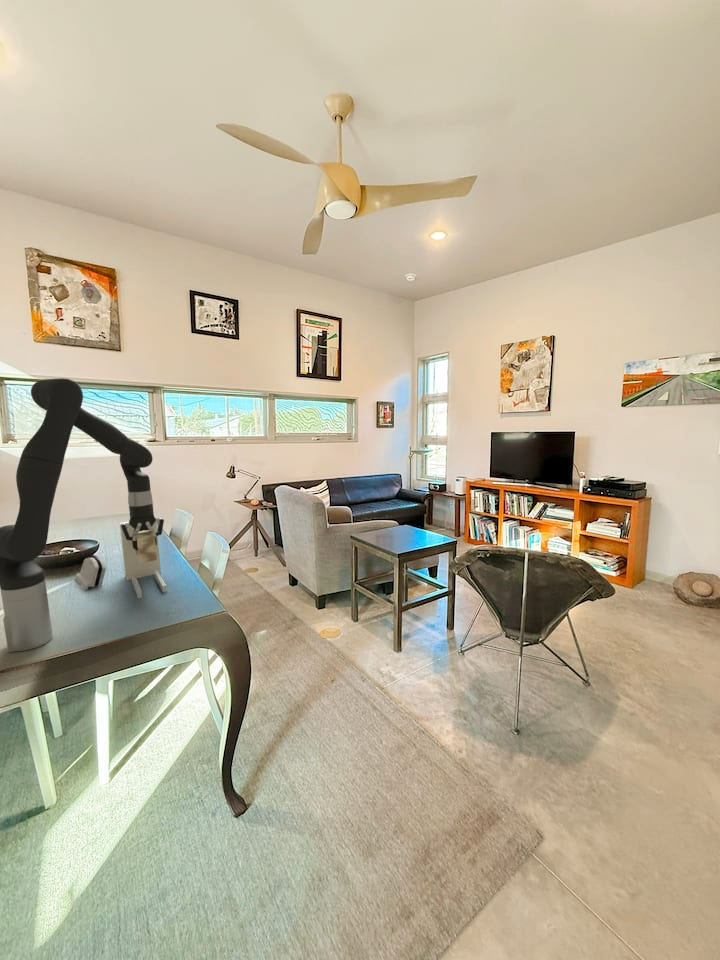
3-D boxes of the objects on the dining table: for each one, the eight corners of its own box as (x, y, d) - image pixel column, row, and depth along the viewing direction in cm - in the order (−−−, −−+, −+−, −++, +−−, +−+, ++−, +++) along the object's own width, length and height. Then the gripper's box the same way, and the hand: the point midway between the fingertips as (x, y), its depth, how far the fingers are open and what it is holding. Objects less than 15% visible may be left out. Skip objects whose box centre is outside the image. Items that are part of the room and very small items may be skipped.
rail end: (141, 563, 135) (138, 538, 133) (135, 552, 146) (133, 529, 145) (156, 559, 138) (154, 535, 136) (150, 549, 149) (148, 526, 148)
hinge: (74, 578, 152) (82, 553, 153) (88, 579, 155) (95, 554, 156) (85, 590, 141) (93, 563, 142) (100, 590, 144) (108, 564, 145)
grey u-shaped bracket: (133, 599, 133) (127, 538, 130) (125, 576, 153) (119, 522, 150) (171, 590, 140) (166, 531, 137) (158, 569, 161) (154, 518, 157)
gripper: (118, 507, 132) (123, 555, 134) (164, 502, 140) (168, 547, 143) (116, 504, 138) (121, 549, 140) (160, 498, 146) (164, 542, 149)
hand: (145, 548), depth 141 cm, fingers closed on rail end, 5 cm apart
